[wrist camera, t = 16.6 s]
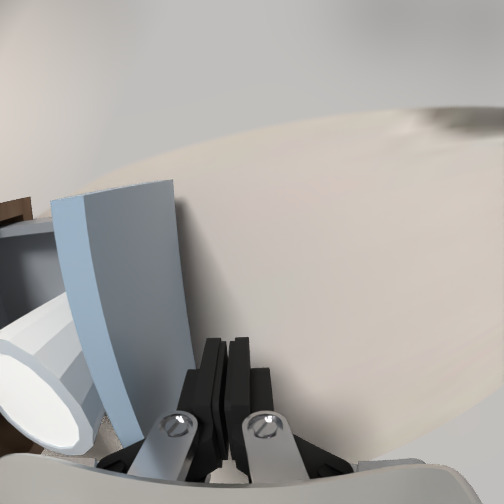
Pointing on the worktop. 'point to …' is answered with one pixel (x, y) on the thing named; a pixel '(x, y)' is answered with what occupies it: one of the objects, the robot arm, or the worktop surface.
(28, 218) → the tan storage bin
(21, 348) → the shot glass
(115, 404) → the tray
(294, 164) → the worktop surface
